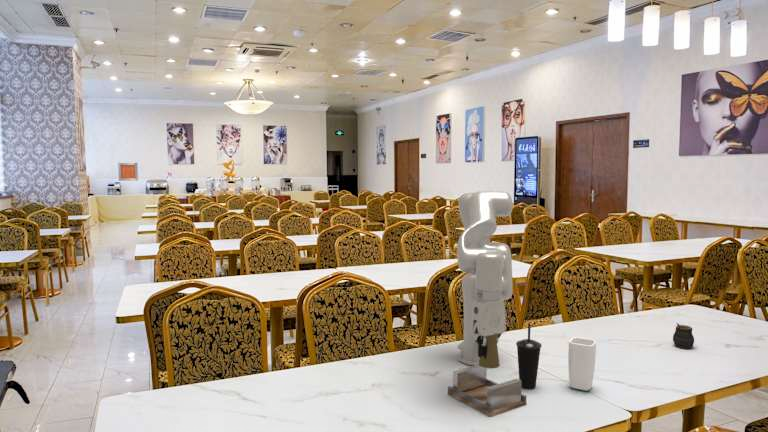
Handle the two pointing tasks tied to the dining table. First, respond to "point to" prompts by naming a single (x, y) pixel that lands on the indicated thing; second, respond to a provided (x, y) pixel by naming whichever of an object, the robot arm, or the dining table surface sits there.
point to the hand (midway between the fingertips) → (487, 356)
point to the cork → (490, 353)
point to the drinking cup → (528, 361)
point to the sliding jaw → (469, 377)
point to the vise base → (482, 398)
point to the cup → (581, 363)
